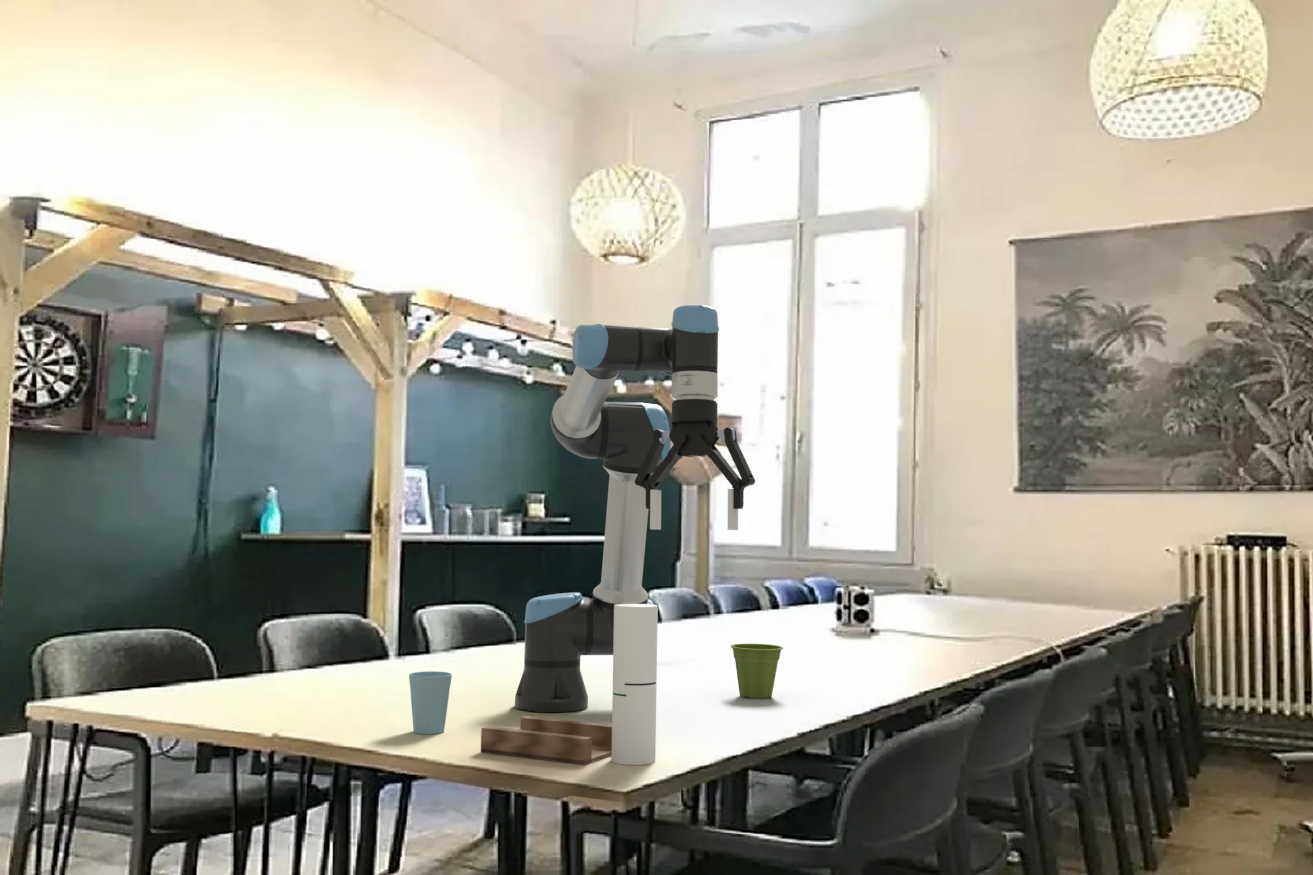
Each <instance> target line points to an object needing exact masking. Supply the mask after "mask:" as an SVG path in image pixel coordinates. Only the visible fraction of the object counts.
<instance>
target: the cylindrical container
mask: <svg viewBox="0 0 1313 875" xmlns="http://www.w3.org/2000/svg"><path fill="white" fill-rule="evenodd" d="M658 607H659V606H658V605H657V604H654V605H651V604H616V605H614V642H613V655H612V707H611V708H612V709H611V710H612V711H611V714H612V715H611V716H612V718H611V725H612V755H611V756H610V757H611V759H610V760H611V762H612V763H614V764H619V765H626V766H627V765H628V766H642V765H643V766H644V765H649V764H653V763H655V762H656V754H657V753H656V748H657V747H656V744H657V742H656V740H657V735H656V734H657V680H658V679H657V678H658V672H657V671H658V670H657V669H658V618H659V617H658V612H659V610H658Z"/></svg>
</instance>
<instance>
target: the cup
mask: <svg viewBox="0 0 1313 875" xmlns="http://www.w3.org/2000/svg"><path fill="white" fill-rule="evenodd" d="M452 676H453V675H452V673H451V672H447V671H433V670H432V671H431V670H429V671H417V672H411V673H409V674H408V677H409V678H408V679H409V688H410V689H409V690H410V700H411V701H410V703H411V713H412V714H411V715H412V727H413V728H412V730H413V733H414V732H415V734H419V735H436V734H437V735H439V734H441V733H444V732H445V727H446V721H447V720H446V719H447V714H448V713H447V712H448V705H449V696H450V688H451V684H452Z"/></svg>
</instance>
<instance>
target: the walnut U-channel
mask: <svg viewBox="0 0 1313 875" xmlns="http://www.w3.org/2000/svg"><path fill="white" fill-rule="evenodd" d="M519 727H520V729H518V728H511V727H510V728H508V727H499V726H492V725H491V726H490V725H488V726H483V727H480V728H481V729H480V732H481V733H480V753H483V754H486V753H487V754H493V755H501V756H502V755H503V756H509V757H516V758H517V757H519V758H528V759H535V760H543V761H549V762H558V763H559V762H560V763H568V764H577V765H582V766H583V765H584V766H586V765H589V764H591V763H594V762H597V761H599V760H603V759H605V758H608V757H611V756H612V724H609V723H608V724H607V723H600V722H599V723H598V722H588V721H580V720H579V721H578V720H571V719H569V720H567V719H558V718H551V717H550V718H549V717H539V716H530V715H525V716H522V717H520V726H519Z"/></svg>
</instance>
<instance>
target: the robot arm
mask: <svg viewBox="0 0 1313 875" xmlns="http://www.w3.org/2000/svg"><path fill="white" fill-rule="evenodd" d="M672 313H673V314H672V321H671V326H672V327H671V328H663V327H642V326H625V325H622V326H621V325H608V324H602V323H595V324H579V325H578V326H576V328H575V330H574V332H573V338H572V346H571V347H572V350H571V351H572V361H573V364H574V365H575V368H574V370H573V374H571V375H572V376H571V378H570V380H569V383H568V385H567V387H566V390H565V391H564V392H565V393H564V394H563V395H561V396H559V398H558V399H557V400H556V401H555V402H554V405H553V408H552V410H551V412H550V413H551V414H550V426H551V429H552V430H551V431H552V433H553V434H554V437H555V438H556V439H557V441H558V442H559V443H560V444H561V446H563V447H564V449H566V450H567V451H568V452H570V453H572V454H574V455H576V456H578V457H581V458H585V459H591V460H592V459H593V460H603V462H602V468H603V469H604V470H605V472H607V473H608V474H609V477H608V478H609V479H608V480H609V481H608V491H607V503H606V515H605V516H606V517H605V526H604V527H605V528H604V529H605V530H604V540H603V553H602V555H603V556H602V564H601V565H602V568H601V577H600V579H601V580H600V583H599V584H598V585H597V586H596V587H594V589H593V591H592V598H590V599H587V598H586V599H583V595H582V593H581V592H573V591H572V592H563V593H554V594H547V595H541V596H536V597H533V598H531V599H529V600H528V601H527V603H526V606H525V616H524V618H525V619H524V620H523V621H524V622H523V623H524V627H525V628H524V629H525V630H524V660H523V661H524V664H523V668H524V669H523V671H522V675H521V678H520V680H519V684H518V687H517V688H516V689H517V690H516V692H515V695H514V708H515V709H519V710H522V711H528V712H539V713H540V712H541V713H564V712H565V713H566V712H575V711H581V710H585V709H587V708H589V695H588V692H587V689H586V685H585V682H584V679H583V675H582V671H581V656H613V642H614V605H616V604H651V605H655V604H654V602H653V601H652V600H651V599H649V594H648V592H647V590H645V588H644V587H643V585H642V584H643V574H644V563H645V553H646V552H645V551H646V539H647V529H648V528H647V527H648V518H649V529H650V530H657V531H658V530H659V531H660V530H662V489H659V488H658V487H659V486H660V484H661V483H662V482H663V481H664V479H665V478H666V477H667V476H668V474H669V473H670V472H671V471H672V469H673V468H674V467H675V466H676V464H677V463H678V461H679V460H681V459H682V458H684V457H686V458H693V457H702V458H704V457H706V456H707V457H708V458H709V459H710V460H711V461H712V463H713V464H714V465H715V467H717V469H718V470H719V471H720V473H721V474H722V476H724V478H725V479H726V480H727V481H728V482H729V484H730V485H731V488H728V489H727V530H728V531H738V530H739V510H743V508H744V492H745V491H744V490H745V488H747V487H749V486H753V485H754V484H755V483H756V479H755V477H754V475H753V473H752V471H751V468H750V466H749V464H748V463H747V459H746V458H745V456H744V454H743V452H742V451H743V450H741V447H740V446H739V443H738V439H737V430H736V429H734V428H731V427H728V426H727V427H725V428H723V429H718V403H717V401H716V400H715V399H717V398H719V395H718V394H719V393H718V392H719V390H718V387H719V386H718V372H719V371H718V364H719V362H718V360H719V358H718V357H719V354H718V353H719V332H720V331H719V330H720V327H719V319H718V318H719V317H718V312H717V310H716V309H715V308H714V307H712V306H708V305H703V304H686V305H685V304H684V305H680V306H677V307H676V308H675V309H674V310H673V312H672ZM621 371H635V372H636V371H637V372H652V373H653V372H655V373H656V372H657V373H658V372H659V373H662V374H665V375H666V376H671V379H672V380H671V382H672V383H671V397H672V398H673V399H675V400H673V401H672V402H671V429H670V425H669V420H668V417H667V414H666V412H665V410H664V409H663V407H662V406H660V405H658V404H653V403H645V402H642V401H641V402H640V401H639V402H632V401H631V402H629V401H628V402H627V401H624V402H623V401H606V400H607V399H608V396H609V394H610V392H611V390H612V389H613V386H614V384H615V382H616V380H617V378H618V376H619V374H620V372H621ZM719 439H721V441H722V442H724V443H725V446H726V448H727V451H728V452H729V455H730V457H731V459H732V461H733V464H734V466H735V467H736V469H737V472H738V474H739V475H738V474H737V472H735V470H734V469H733V468H732V466H731V465H730V464H729V463H728V461H727V460H726V459H725V457H724V456H723V455H722V453H721V451H720V450H719V449H718V447H717V446H716V444H717V442H718V441H719ZM671 443H672V444H673V445H672V446H671ZM739 476H740V477H739ZM649 514H650V516H649Z"/></svg>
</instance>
